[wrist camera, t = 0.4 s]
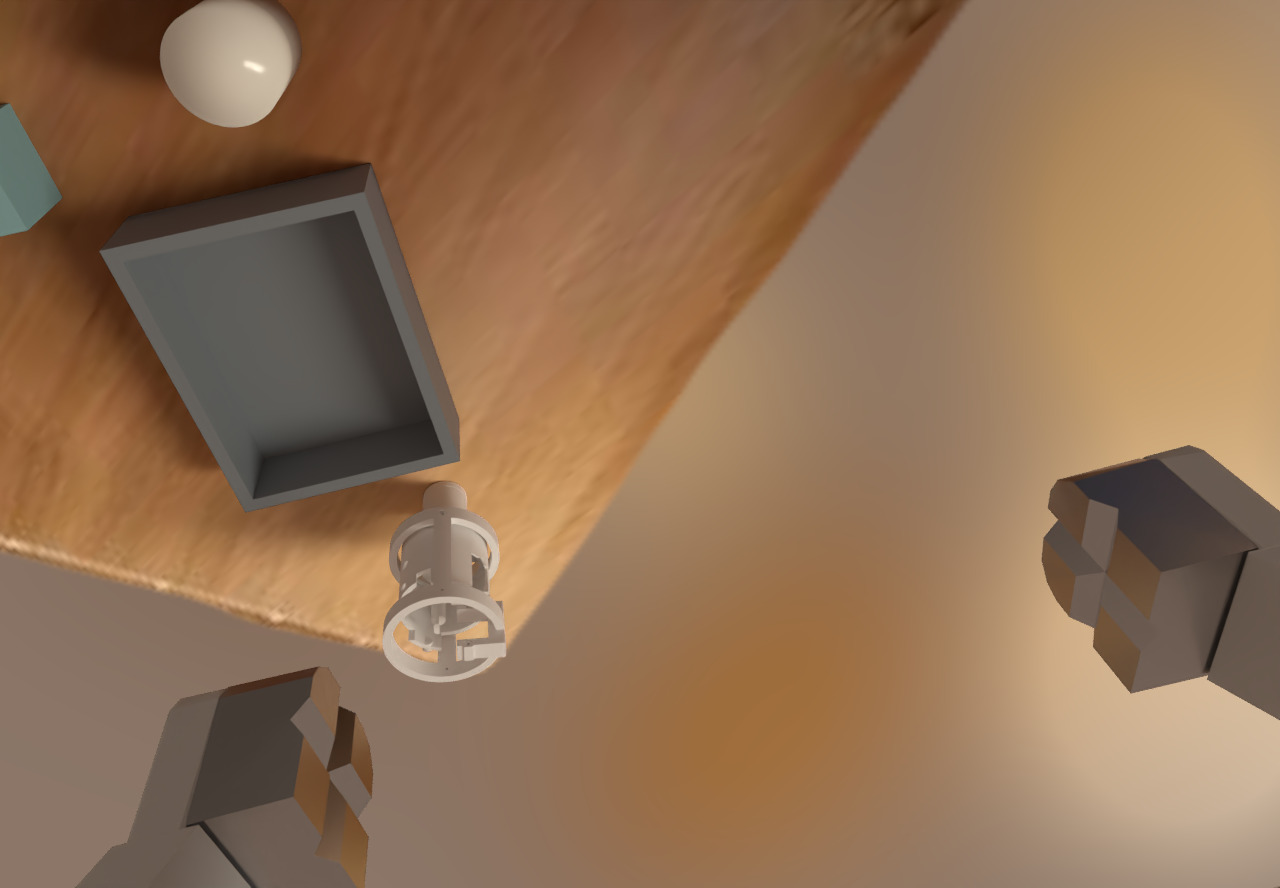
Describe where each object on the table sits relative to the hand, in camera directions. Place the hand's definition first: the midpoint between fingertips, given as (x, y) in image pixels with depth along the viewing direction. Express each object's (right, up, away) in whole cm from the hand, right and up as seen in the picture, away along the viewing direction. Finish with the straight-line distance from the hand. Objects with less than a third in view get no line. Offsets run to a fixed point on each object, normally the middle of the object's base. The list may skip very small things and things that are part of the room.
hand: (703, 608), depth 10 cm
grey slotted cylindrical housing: (-15, -2, +54) cm, 56 cm away
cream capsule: (-21, +22, +35) cm, 47 cm away
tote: (-21, +9, +44) cm, 50 cm away
